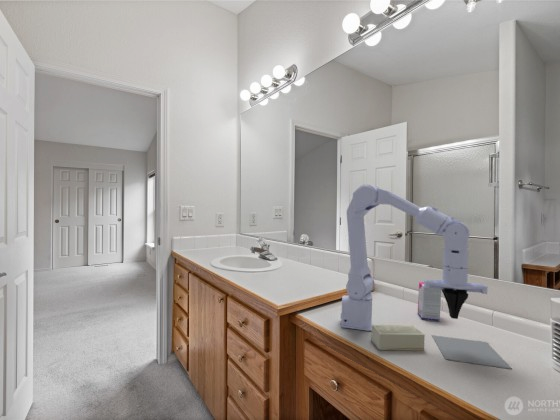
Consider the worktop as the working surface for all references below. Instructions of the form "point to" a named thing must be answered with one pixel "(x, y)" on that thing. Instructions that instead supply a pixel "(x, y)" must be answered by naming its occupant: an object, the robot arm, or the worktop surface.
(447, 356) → the rubber mat
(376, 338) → the skincare box
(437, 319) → the supplement box
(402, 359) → the worktop surface
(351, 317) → the robot arm
